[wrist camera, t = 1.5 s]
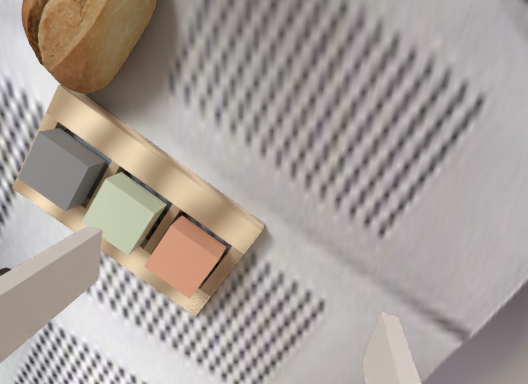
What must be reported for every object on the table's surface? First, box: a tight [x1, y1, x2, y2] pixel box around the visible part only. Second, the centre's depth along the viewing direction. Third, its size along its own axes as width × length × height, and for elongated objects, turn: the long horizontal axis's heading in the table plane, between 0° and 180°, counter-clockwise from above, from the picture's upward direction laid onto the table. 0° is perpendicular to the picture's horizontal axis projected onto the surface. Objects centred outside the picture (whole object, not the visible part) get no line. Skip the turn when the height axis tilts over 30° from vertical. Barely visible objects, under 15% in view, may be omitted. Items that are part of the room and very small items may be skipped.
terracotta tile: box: [144, 216, 226, 299], centre depth 38 cm, size 6×6×3 cm
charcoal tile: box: [18, 128, 106, 212], centre depth 38 cm, size 6×6×3 cm
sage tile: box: [81, 172, 167, 255], centre depth 38 cm, size 6×6×3 cm
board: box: [13, 85, 265, 317], centre depth 40 cm, size 26×14×2 cm, turn 55°
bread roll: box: [22, 0, 157, 94], centre depth 33 cm, size 10×15×8 cm, turn 145°
